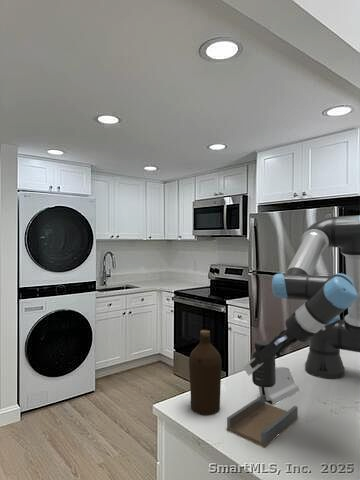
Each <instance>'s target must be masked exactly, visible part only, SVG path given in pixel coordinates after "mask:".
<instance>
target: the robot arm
mask: <svg viewBox="0 0 360 480" xmlns="http://www.w3.org/2000/svg"><path fill="white" fill-rule="evenodd" d="M327 248H339V249H340V253H341V255H343V256H344V257H345V273H346V274H345V273H335V274H332V275H313V274H314V271H315V269H316V266H317V264H318V262H319V260H320V258H321V255H322V253H323V252H324V251H325V250H327ZM271 291H272V294H273V296H274V297H275V298H279V299H284V300H294V301H295V300H298V301H305V302H304V303H303V304H301V306H299V307H298V308H297V309H296V310H295V311H294V313H292V314H291V315H290V316H289V317H288V318H287V319H285V323H284V324H285V327H286V329H285V330H282V331H281V332H280V333H279V334H278V336H275V337H274V338H273V339H272V340H271V341H269V342H270V343H269V344H268V345H267V346H265V347H264V348H263V349H262V350H261V351H260V352H258V353H254V358H253V359H252V358H251V360H250V361H248V362H247V363H246V364H245V365H244V366H243V367H242V368H243V370H244V371H245V372H246V373H245V374H247V376H250V375H252V373H253V372H254V371H255V370H256V369H257V368H259V367H260V366H261V365H262V364H263V363H264V361H266V360H267V359H268V358H270V357H271V356H272V355H273V354H275V358H280V357H282V355H281V354H283V353H284V352H285V350H286V349H288V348H289V347H290V346H292V345H293V344H295V343H296V342H302V343H306V342H308V341H309V347H308V350H309V351H308V354H307V357H306V361H305V362H304V371H306V373H308V374H310V375H311V376H315V377H317V378H322V379H329V380H330V379H331V380H332V379H333V380H334V379H340V378H343V377H345V375H346V374H345V373H346V372H345V371H346V369H345V366H344V364H343V360H342V357H341V350H342V351H349V352H353V353H354V352H355V353H360V214H359V215H358V214H357V215H345V216H344V215H343V216H341V215H340V216H328V217H325V218H322V219H319V220H317V221H315V222H314V223H313V224H311V225H310V226H309V227H307V228H306V230H305V231H304V232H303V234H302V236H301V244H300V246H299V248H298V249H297V251H296V253H295V255H294V257H293V259H292V260H291V262H290V264H289V266H288V268H287V269H286V271H285V273H284V272H282V273H276V274H274V275H273V276H272V281H271ZM346 310H347V313H348V314H346V315H345V316H344V319H341V317H340V316H339V315H340V314H342V313H343V312H344V311H346Z"/></svg>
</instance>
